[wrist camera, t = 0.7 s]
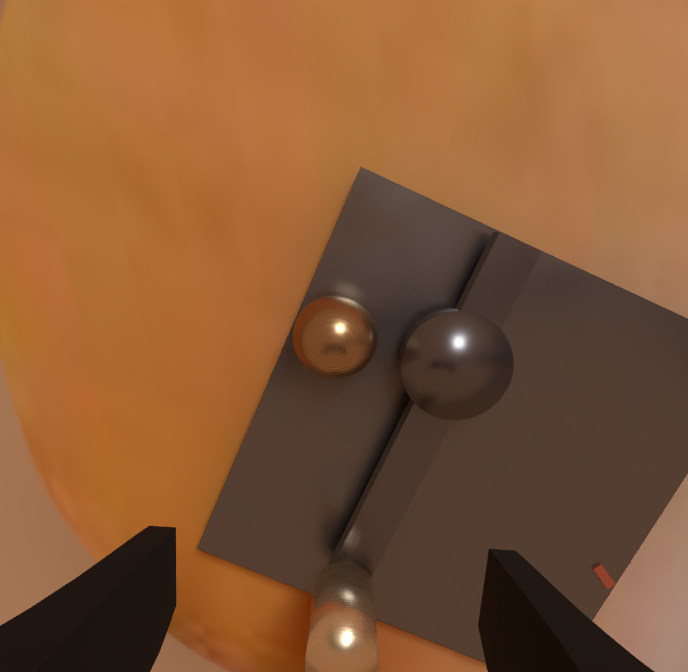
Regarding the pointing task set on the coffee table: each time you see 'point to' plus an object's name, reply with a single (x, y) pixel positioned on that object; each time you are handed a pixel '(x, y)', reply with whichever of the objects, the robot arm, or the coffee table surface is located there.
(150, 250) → the coffee table surface
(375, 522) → the lever
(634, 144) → the coffee table surface
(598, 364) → the dark grey flat slab
